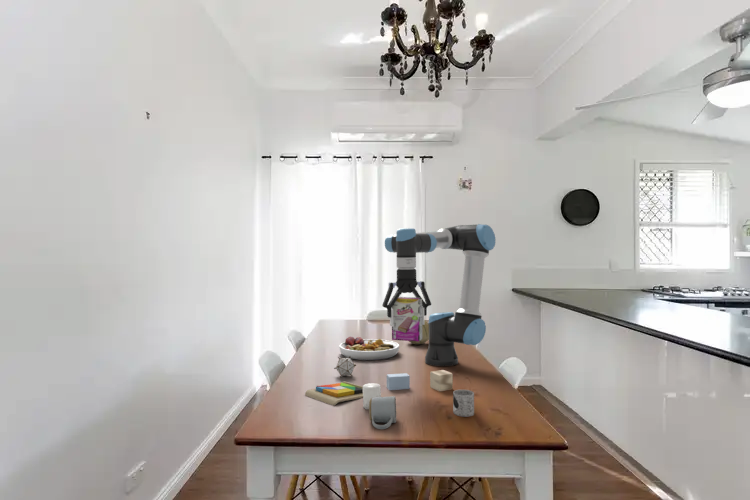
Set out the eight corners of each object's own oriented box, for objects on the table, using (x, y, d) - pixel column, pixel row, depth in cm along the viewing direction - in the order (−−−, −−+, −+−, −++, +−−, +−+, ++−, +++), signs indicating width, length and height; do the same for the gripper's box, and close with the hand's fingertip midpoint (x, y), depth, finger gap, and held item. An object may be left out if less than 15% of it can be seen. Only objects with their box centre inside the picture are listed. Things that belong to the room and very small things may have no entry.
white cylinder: (377, 402, 164) (376, 382, 164) (383, 408, 159) (383, 387, 158) (360, 405, 162) (360, 384, 162) (366, 411, 156) (366, 389, 156)
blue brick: (406, 386, 185) (406, 373, 185) (409, 389, 181) (409, 375, 181) (386, 387, 183) (386, 374, 183) (389, 390, 179) (389, 377, 179)
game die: (348, 386, 197) (352, 370, 192) (329, 377, 199) (333, 362, 193) (356, 371, 204) (360, 355, 199) (338, 363, 206) (342, 347, 200)
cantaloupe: (434, 342, 268) (434, 316, 268) (426, 347, 254) (426, 319, 254) (409, 340, 274) (409, 314, 274) (400, 345, 260) (400, 318, 260)
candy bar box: (391, 340, 183) (390, 297, 183) (395, 337, 188) (394, 296, 188) (420, 342, 180) (419, 298, 180) (423, 339, 185) (422, 297, 184)
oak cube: (443, 385, 185) (443, 369, 185) (452, 389, 180) (452, 373, 180) (430, 387, 183) (430, 371, 183) (439, 391, 177) (439, 375, 177)
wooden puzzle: (374, 395, 175) (374, 385, 175) (334, 407, 161) (334, 397, 161) (342, 385, 187) (342, 376, 187) (303, 396, 174) (303, 386, 174)
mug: (452, 409, 158) (452, 389, 158) (473, 410, 157) (473, 389, 157) (454, 420, 148) (454, 398, 148) (476, 420, 147) (476, 399, 147)
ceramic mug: (370, 416, 151) (370, 392, 151) (396, 417, 150) (396, 393, 150) (367, 430, 140) (367, 404, 140) (395, 430, 140) (395, 404, 140)
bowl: (409, 352, 244) (409, 337, 244) (378, 364, 219) (378, 347, 219) (361, 346, 260) (361, 331, 260) (327, 357, 235) (327, 341, 235)
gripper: (378, 269, 177) (379, 328, 178) (439, 268, 183) (440, 324, 183) (373, 268, 185) (374, 325, 185) (432, 267, 190) (433, 321, 190)
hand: (407, 325), depth 184 cm, fingers closed on candy bar box, 12 cm apart
